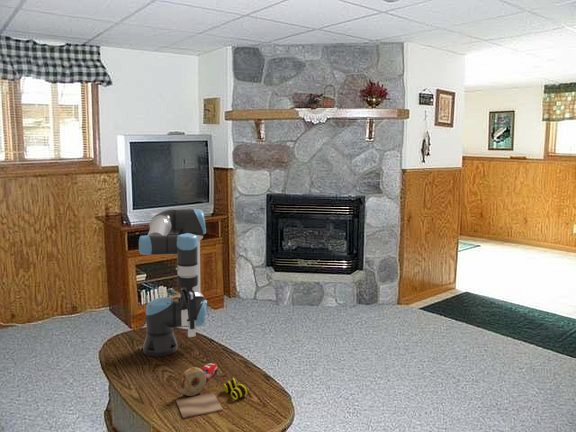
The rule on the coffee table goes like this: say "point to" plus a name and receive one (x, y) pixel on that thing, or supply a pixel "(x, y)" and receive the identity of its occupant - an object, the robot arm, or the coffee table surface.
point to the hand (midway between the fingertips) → (188, 330)
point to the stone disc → (198, 383)
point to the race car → (210, 370)
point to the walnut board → (198, 405)
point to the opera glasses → (235, 389)
